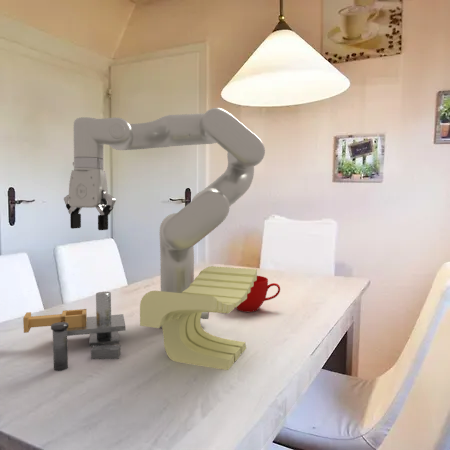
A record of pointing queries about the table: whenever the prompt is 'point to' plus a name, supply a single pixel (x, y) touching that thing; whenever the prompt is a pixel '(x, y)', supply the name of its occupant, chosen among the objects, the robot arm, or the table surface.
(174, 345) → the slatted curved stool
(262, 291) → the ceramic cup
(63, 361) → the pin
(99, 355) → the wedge bar
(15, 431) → the table surface
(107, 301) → the grey metal fixture
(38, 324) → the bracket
